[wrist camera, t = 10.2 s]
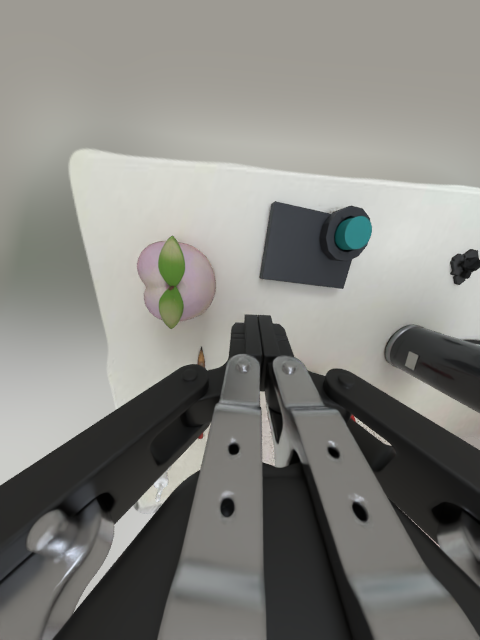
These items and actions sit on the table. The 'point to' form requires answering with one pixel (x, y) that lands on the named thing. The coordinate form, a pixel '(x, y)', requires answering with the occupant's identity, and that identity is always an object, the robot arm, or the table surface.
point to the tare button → (353, 233)
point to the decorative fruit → (176, 281)
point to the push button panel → (307, 246)
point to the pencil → (202, 363)
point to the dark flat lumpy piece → (464, 265)
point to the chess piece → (161, 484)
